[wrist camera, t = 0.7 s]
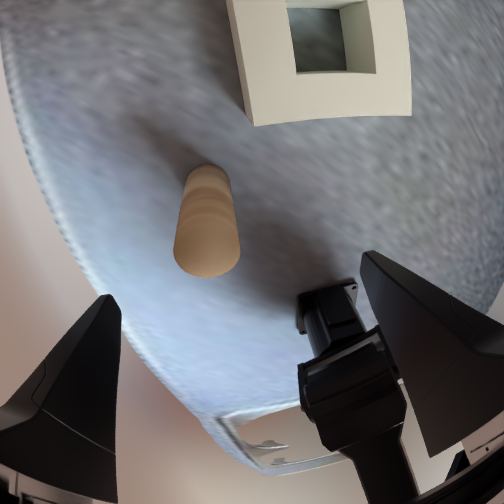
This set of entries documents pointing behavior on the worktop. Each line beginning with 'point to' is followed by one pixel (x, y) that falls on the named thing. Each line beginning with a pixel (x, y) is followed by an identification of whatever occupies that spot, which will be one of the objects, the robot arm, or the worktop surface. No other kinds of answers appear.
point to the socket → (322, 82)
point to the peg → (207, 224)
